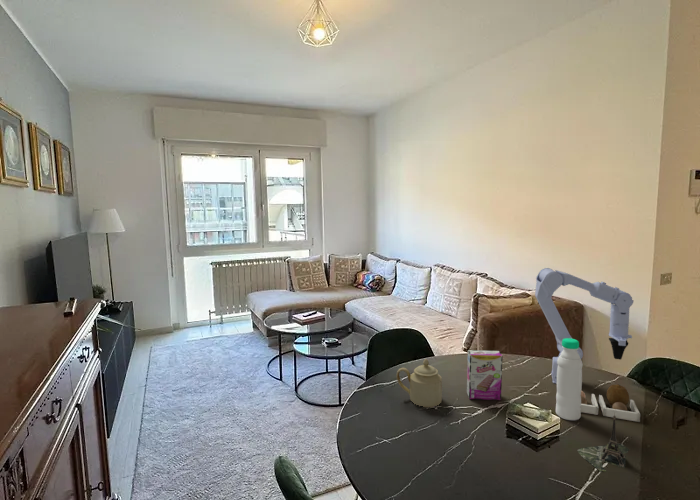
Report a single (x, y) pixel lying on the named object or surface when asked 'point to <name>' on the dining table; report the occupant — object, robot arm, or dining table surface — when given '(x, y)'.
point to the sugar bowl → (423, 385)
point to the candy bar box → (484, 375)
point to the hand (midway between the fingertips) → (617, 358)
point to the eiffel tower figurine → (606, 452)
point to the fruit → (617, 394)
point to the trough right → (620, 411)
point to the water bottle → (569, 381)
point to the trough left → (590, 407)
